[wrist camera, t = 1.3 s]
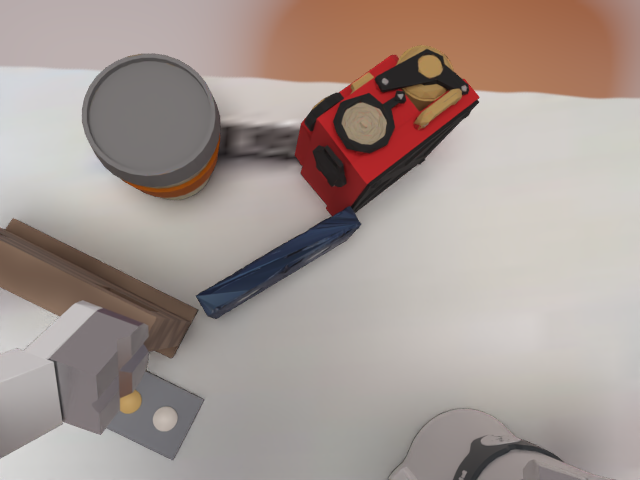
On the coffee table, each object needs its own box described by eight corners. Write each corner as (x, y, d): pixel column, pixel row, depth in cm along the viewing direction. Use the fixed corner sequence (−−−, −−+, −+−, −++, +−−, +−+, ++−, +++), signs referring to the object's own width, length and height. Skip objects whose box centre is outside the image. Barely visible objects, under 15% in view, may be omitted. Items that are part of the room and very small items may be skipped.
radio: (378, 98, 67) (427, 3, 48) (428, 159, 67) (498, 87, 47) (282, 168, 64) (292, 98, 45) (333, 232, 64) (367, 189, 44)
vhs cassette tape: (336, 223, 64) (351, 204, 54) (349, 244, 64) (365, 228, 54) (202, 297, 60) (191, 291, 51) (214, 320, 60) (206, 318, 50)
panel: (172, 357, 59) (126, 373, 38) (-12, 266, 58) (-160, 232, 38) (198, 309, 60) (166, 299, 40) (17, 220, 59) (-110, 162, 39)
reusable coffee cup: (244, 140, 64) (240, 84, 49) (200, 231, 62) (182, 201, 47) (150, 98, 64) (118, 29, 49) (102, 188, 61) (52, 143, 46)
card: (173, 459, 57) (172, 461, 56) (91, 419, 57) (88, 420, 56) (204, 399, 58) (203, 400, 58) (124, 360, 58) (122, 360, 57)
